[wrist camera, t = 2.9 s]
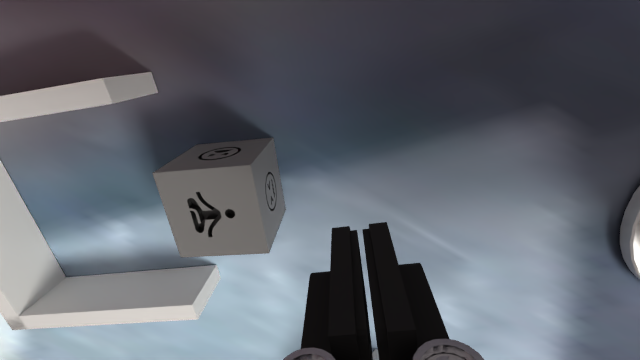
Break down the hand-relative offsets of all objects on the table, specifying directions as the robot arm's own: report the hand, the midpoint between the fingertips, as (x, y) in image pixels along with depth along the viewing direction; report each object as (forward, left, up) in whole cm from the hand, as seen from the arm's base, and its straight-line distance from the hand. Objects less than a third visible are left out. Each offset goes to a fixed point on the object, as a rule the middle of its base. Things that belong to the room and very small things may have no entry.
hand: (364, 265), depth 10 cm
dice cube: (+8, 0, -11) cm, 13 cm away
